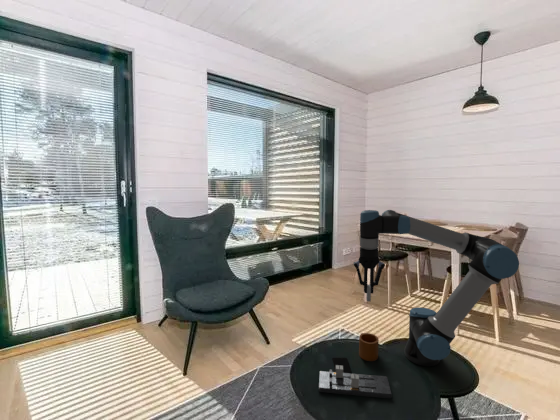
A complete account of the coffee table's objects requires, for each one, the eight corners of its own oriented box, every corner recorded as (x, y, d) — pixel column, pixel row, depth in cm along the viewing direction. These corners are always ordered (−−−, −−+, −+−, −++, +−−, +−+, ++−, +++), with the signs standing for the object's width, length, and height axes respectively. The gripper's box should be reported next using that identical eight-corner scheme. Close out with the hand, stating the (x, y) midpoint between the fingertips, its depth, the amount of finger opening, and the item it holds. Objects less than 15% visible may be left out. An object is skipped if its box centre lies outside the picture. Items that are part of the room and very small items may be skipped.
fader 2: (358, 383, 124) (358, 374, 123) (358, 388, 122) (358, 378, 121) (350, 383, 124) (350, 373, 124) (351, 387, 122) (351, 378, 122)
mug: (372, 345, 154) (372, 329, 152) (381, 361, 142) (381, 343, 140) (354, 346, 153) (355, 329, 152) (361, 361, 141) (362, 343, 140)
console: (386, 380, 128) (387, 372, 128) (391, 398, 119) (391, 389, 118) (319, 375, 133) (319, 366, 132) (319, 391, 123) (318, 382, 123)
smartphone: (337, 380, 129) (331, 357, 144) (337, 381, 130) (331, 359, 144) (354, 379, 129) (347, 357, 144) (354, 381, 129) (347, 358, 144)
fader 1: (342, 374, 130) (342, 365, 129) (343, 378, 127) (343, 369, 127) (335, 373, 130) (335, 364, 130) (335, 377, 128) (335, 368, 127)
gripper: (383, 244, 131) (382, 297, 134) (352, 244, 133) (352, 295, 136) (386, 249, 124) (385, 304, 127) (353, 249, 126) (353, 303, 129)
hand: (368, 300), depth 132 cm, fingers closed
